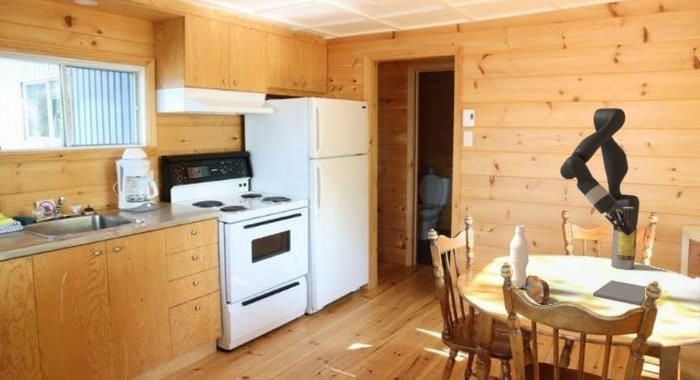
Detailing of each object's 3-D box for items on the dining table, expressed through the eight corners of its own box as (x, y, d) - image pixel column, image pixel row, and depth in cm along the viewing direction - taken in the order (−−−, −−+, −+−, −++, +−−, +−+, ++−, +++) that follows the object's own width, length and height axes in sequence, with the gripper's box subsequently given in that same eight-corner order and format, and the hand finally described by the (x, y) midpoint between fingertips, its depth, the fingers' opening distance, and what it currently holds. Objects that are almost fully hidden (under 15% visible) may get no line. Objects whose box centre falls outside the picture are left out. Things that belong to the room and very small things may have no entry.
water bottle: (527, 285, 208) (529, 224, 206) (527, 290, 202) (529, 228, 199) (509, 283, 211) (511, 223, 208) (508, 288, 204) (510, 227, 201)
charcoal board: (611, 283, 210) (611, 280, 210) (655, 291, 199) (655, 288, 199) (593, 296, 194) (593, 293, 194) (639, 305, 184) (640, 302, 183)
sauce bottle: (637, 261, 192) (641, 209, 189) (619, 260, 193) (622, 208, 190) (631, 257, 198) (635, 206, 195) (614, 256, 199) (617, 205, 197)
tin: (524, 293, 198) (525, 272, 197) (532, 293, 198) (533, 272, 198) (542, 307, 183) (543, 284, 182) (550, 306, 184) (551, 283, 183)
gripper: (602, 194, 192) (635, 229, 186) (614, 191, 203) (646, 224, 196) (586, 207, 197) (618, 242, 190) (599, 203, 207) (629, 235, 200)
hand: (632, 232), depth 193 cm, fingers closed on sauce bottle, 6 cm apart
